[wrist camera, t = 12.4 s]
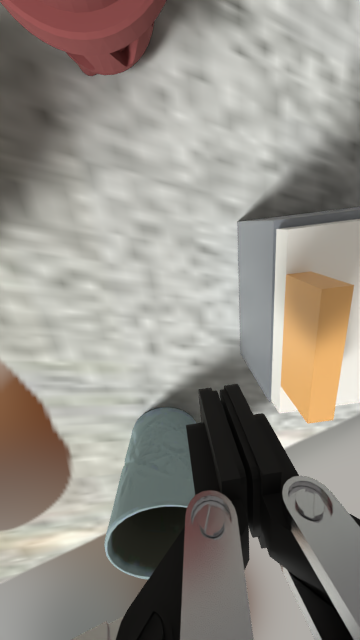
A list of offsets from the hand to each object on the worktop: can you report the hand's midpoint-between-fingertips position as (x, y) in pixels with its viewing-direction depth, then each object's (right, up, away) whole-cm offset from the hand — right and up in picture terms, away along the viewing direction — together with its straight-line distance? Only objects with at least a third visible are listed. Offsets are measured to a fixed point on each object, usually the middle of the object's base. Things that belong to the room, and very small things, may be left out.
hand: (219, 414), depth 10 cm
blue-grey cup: (-4, -10, +21) cm, 24 cm away
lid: (+10, +4, +7) cm, 13 cm away
